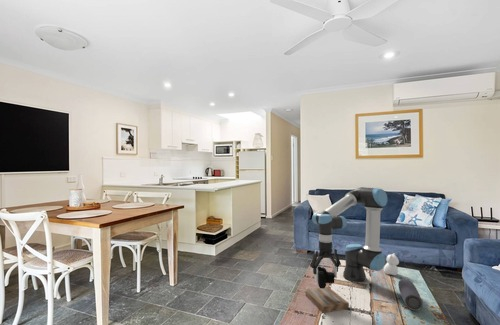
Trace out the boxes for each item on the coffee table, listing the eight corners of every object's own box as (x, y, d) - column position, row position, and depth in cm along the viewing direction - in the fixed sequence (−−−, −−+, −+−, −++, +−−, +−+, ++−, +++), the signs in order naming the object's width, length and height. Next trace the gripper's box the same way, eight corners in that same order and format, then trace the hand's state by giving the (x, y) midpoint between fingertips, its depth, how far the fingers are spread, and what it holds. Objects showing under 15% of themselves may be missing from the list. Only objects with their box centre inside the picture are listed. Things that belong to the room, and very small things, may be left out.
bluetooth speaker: (397, 292, 159) (396, 276, 160) (414, 295, 156) (414, 278, 156) (403, 310, 138) (403, 292, 139) (423, 314, 135) (423, 295, 135)
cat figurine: (396, 278, 181) (396, 256, 181) (378, 272, 190) (378, 252, 191) (401, 274, 187) (401, 254, 187) (383, 269, 196) (383, 249, 197)
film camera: (336, 289, 141) (335, 273, 141) (318, 288, 143) (317, 272, 143) (332, 278, 156) (332, 263, 156) (316, 277, 158) (315, 262, 158)
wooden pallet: (328, 291, 160) (328, 287, 160) (348, 308, 141) (348, 302, 141) (305, 295, 156) (305, 290, 156) (323, 312, 137) (323, 307, 137)
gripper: (339, 238, 156) (339, 273, 156) (303, 240, 150) (304, 278, 149) (347, 241, 149) (347, 278, 148) (310, 244, 143) (310, 283, 142)
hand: (325, 278), depth 149 cm, fingers closed on film camera, 12 cm apart
